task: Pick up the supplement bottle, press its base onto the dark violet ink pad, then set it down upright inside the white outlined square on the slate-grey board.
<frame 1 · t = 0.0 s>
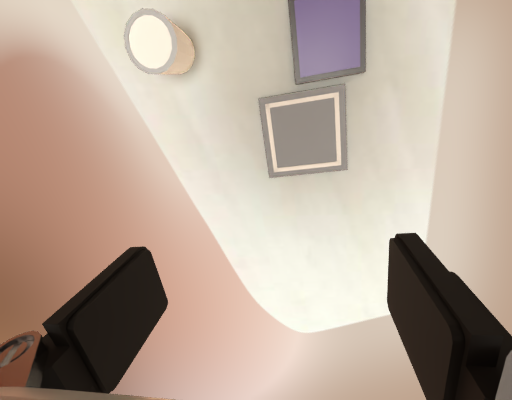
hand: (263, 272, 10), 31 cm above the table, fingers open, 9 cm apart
white short cylinder: (177, 52, 36), on the table
print board: (303, 134, 37), on the table
ink pad: (327, 36, 32), on the table
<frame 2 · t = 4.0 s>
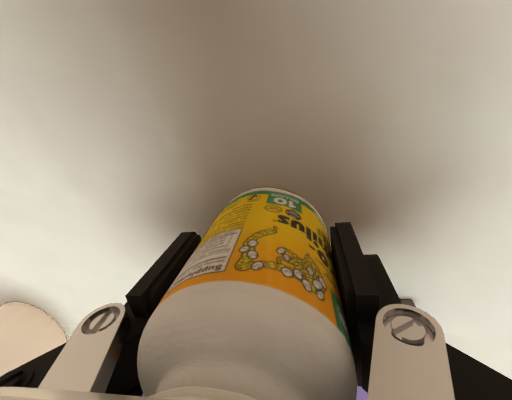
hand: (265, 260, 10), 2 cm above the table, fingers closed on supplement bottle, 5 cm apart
supplement bottle: (271, 233, 12), on the table, touching gripper
white short cylinder: (35, 328, 19), on the table
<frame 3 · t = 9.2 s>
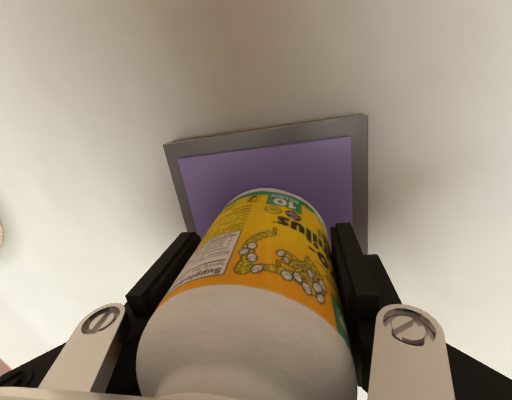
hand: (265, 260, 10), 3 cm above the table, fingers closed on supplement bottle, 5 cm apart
supplement bottle: (271, 234, 12), point 1 cm above the table, touching gripper, ink pad
ink pad: (273, 224, 13), on the table
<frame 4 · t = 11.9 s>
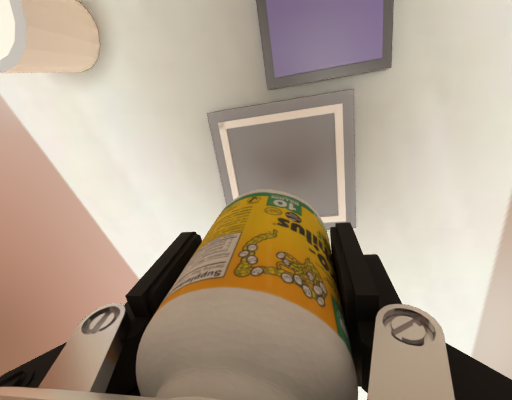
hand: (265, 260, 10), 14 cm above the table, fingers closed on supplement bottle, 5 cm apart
supplement bottle: (271, 235, 12), point 12 cm above the table, touching gripper
white short cylinder: (71, 36, 22), on the table
print board: (284, 171, 23), on the table
ink pad: (321, 3, 18), on the table
when the fingers open (3 cm above the table, at t = 14.4 s): supplement bottle stays where it is, resting on print board.
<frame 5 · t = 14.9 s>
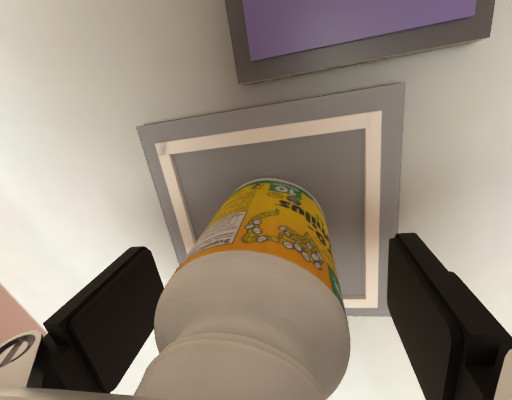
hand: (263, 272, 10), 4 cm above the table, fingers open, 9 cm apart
supplement bottle: (273, 223, 13), resting on print board
print board: (274, 222, 14), on the table
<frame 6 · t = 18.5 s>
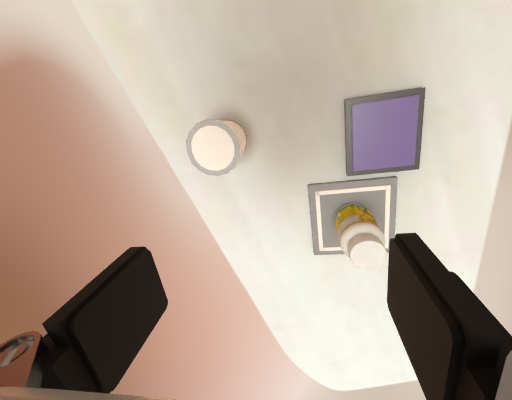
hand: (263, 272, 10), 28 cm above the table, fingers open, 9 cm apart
supplement bottle: (351, 218, 38), resting on print board
white short cylinder: (228, 140, 37), on the table
print board: (351, 218, 38), on the table
ink pad: (381, 134, 33), on the table
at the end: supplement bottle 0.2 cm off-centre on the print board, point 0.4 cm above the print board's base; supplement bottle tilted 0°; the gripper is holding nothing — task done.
